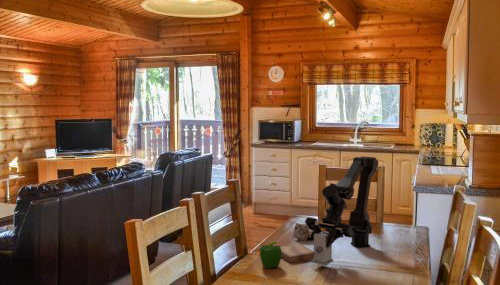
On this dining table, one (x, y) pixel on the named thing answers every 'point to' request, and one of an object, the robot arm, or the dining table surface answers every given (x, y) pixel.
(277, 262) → the bell pepper
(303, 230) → the grey brown rock
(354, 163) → the robot arm
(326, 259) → the plate
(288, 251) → the stand
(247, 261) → the dining table surface
